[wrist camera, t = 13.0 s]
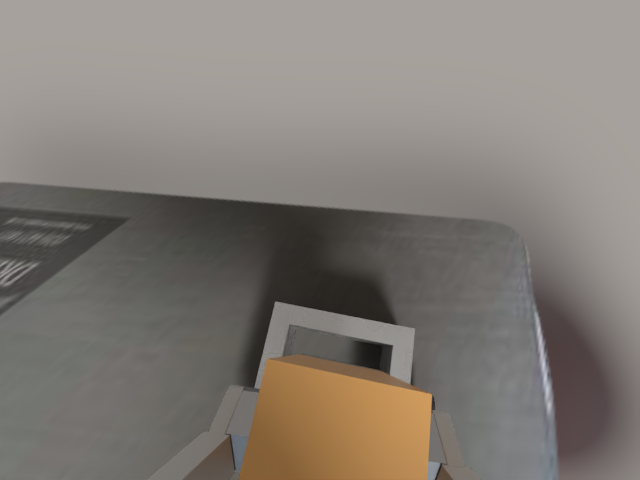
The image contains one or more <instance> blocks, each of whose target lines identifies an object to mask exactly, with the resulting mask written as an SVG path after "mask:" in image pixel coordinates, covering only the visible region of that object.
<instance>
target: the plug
mask: <svg viewBox="0 0 640 480" xmlns="http://www.w3.org/2000/svg"><path fill="white" fill-rule="evenodd" d="M431 406H432V394H430V393H428V392H426V391H424V390H422V389H419V388H417V387H415V386H413V385H411V384H408V383H406V382H404V381H402V380H400V379H398V378H395V377H393V376H391V375H389V374H387V373H384V372H382V371H380V370H377V369H373V368H368V367H363V366H358V365H354V364H349V363H344V362H339V361H335V360H330V359H325V358H320V357H316V356H311V355H306V354H298V355H291V356H283V357H276V358H269V359H267V361H266V366H265V370H264V374H263V378H262V383H261V387H260V391H259V395H258V399H257V404H256V408H255V412H254V416H253V421H252V425H251V429H250V433H249V437H248V442H247V446H246V450H245V454H244V458H243V463H242V467H241V471H240V475H239V480H427V474H428V457H429V440H430V423H431Z"/></svg>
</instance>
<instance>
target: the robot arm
mask: <svg viewBox="0 0 640 480" xmlns="http://www.w3.org/2000/svg"><path fill="white" fill-rule="evenodd" d="M259 391H260V389H258V388H251V387H245V386H237V385H230V387H229V388H228V389H227V391H226V393H225V396H224V398H223V400H222V402H221V405H220V407H219V409H218V411H217V414H216V416H215V418H214V420H213V422H212V425H211V427H210V429H209V431H208V432H205V431H204V432H203V433H201V434H200V435H199V436H198V437H197V438H196V439H194V440H193V441H192V442H191V443H190V444H188V445H187V446H186V447H185V448H184V449H183V450H181V451H180V452H179V453H178V454H177V455H175V456H174V457H173V458H172V459H171V460H170V461H168V462H167V463H166V464H165V465H164V466H162V467H161V468H160V469H159V470H158V471H157V472H155V473H154V474H153V475H152V476H151V477H149V478H148V479H147V480H229V479H230V478H231V477H232V475H233V474H234V473H235V471H241V467H242V463H243V458H244V454H245V450H246V446H247V442H248V437H249V433H250V429H251V425H252V421H253V416H254V412H255V408H256V404H257V399H258V395H259ZM427 480H481V479H480V478H479V477H478V475H477V474H476V473H475V472H474V471H473V470H472V468H466V465H465V461H464V458H463V455H462V452H461V449H460V446H459V442H458V439H457V436H456V433H455V430H454V426H453V423H452V420H451V417H450V415H449V413H448V412H446V411H436V410H431V423H430V440H429V457H428V474H427Z"/></svg>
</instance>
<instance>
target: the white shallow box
mask: <svg viewBox="0 0 640 480" xmlns="http://www.w3.org/2000/svg"><path fill="white" fill-rule="evenodd" d="M296 329H302V330H307V331H312V332H316V333H321V334H326V335H331V336H336V337H341V338H346V339H351V340H356V341H361V342H365V343H370V344H375V345H380V346H382V350H381V359H380V367H379V370H380V371H382V372H384V373H387V374H389V375H391V376H393V377H395V378H398V379H400V380H402V381H404V382H406V383H408V384H410V381H411V369H412V357H413V345H414V333H415V329H413V328H408V327H403V326H398V325H393V324H388V323H383V322H378V321H372V320H367V319H362V318H357V317H352V316H347V315H342V314H337V313H332V312H327V311H321V310H316V309H311V308H306V307H301V306H296V305H291V304H286V303H281V302H276V301H275V305H274V309H273V313H272V317H271V321H270V326H269V330H268V334H267V338H266V342H265V346H264V350H263V354H262V358H261V362H260V366H259V370H258V375H257V379H256V383H255V387H254V388H258V389H260V387H261V383H262V378H263V374H264V370H265V366H266V361H267V359H269V358H276V357H283V356H291V352H292V348H293V343H294V338H295V334H296ZM430 394H431V393H430ZM431 410H435V402H434V397H433V395H432V406H431Z"/></svg>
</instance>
